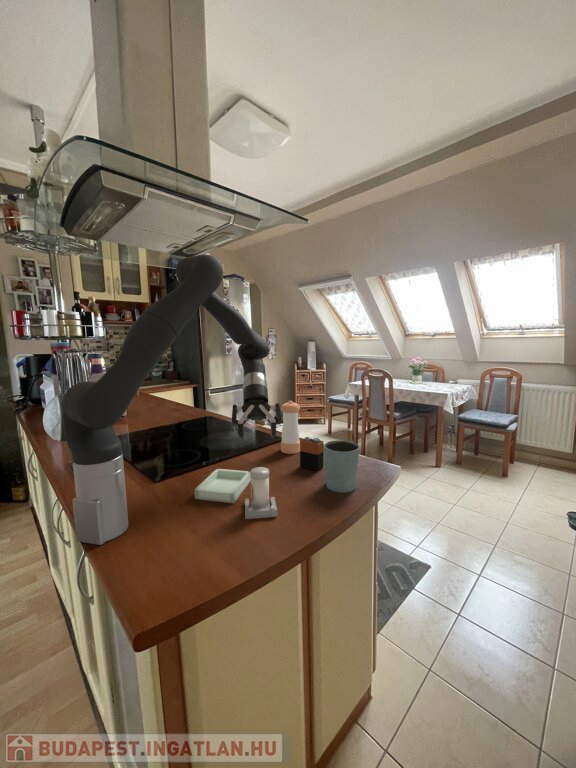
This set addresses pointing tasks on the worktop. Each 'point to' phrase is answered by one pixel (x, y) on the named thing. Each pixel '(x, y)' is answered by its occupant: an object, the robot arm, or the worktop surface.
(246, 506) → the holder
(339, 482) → the teal cup
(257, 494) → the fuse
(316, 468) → the battery
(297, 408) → the salt shaker
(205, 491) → the tray
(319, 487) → the worktop surface
